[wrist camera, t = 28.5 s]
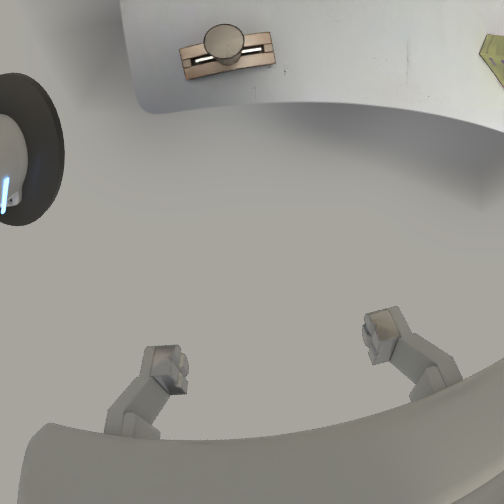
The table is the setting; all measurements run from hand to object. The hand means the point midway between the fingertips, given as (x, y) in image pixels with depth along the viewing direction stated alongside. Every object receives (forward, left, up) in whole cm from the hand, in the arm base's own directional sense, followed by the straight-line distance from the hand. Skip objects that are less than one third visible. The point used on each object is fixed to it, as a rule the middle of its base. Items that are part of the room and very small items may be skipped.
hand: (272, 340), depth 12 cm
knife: (0, +12, -29) cm, 32 cm away
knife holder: (0, +12, -29) cm, 32 cm away
